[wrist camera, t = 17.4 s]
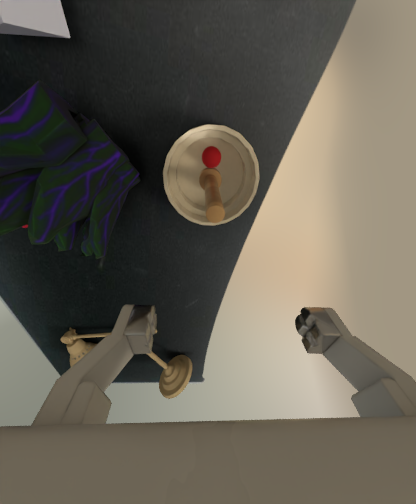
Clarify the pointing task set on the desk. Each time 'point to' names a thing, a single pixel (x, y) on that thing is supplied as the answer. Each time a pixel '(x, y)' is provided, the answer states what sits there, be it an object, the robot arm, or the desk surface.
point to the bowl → (191, 165)
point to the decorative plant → (60, 173)
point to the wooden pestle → (212, 194)
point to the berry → (211, 157)
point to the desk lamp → (174, 371)
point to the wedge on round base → (33, 18)
